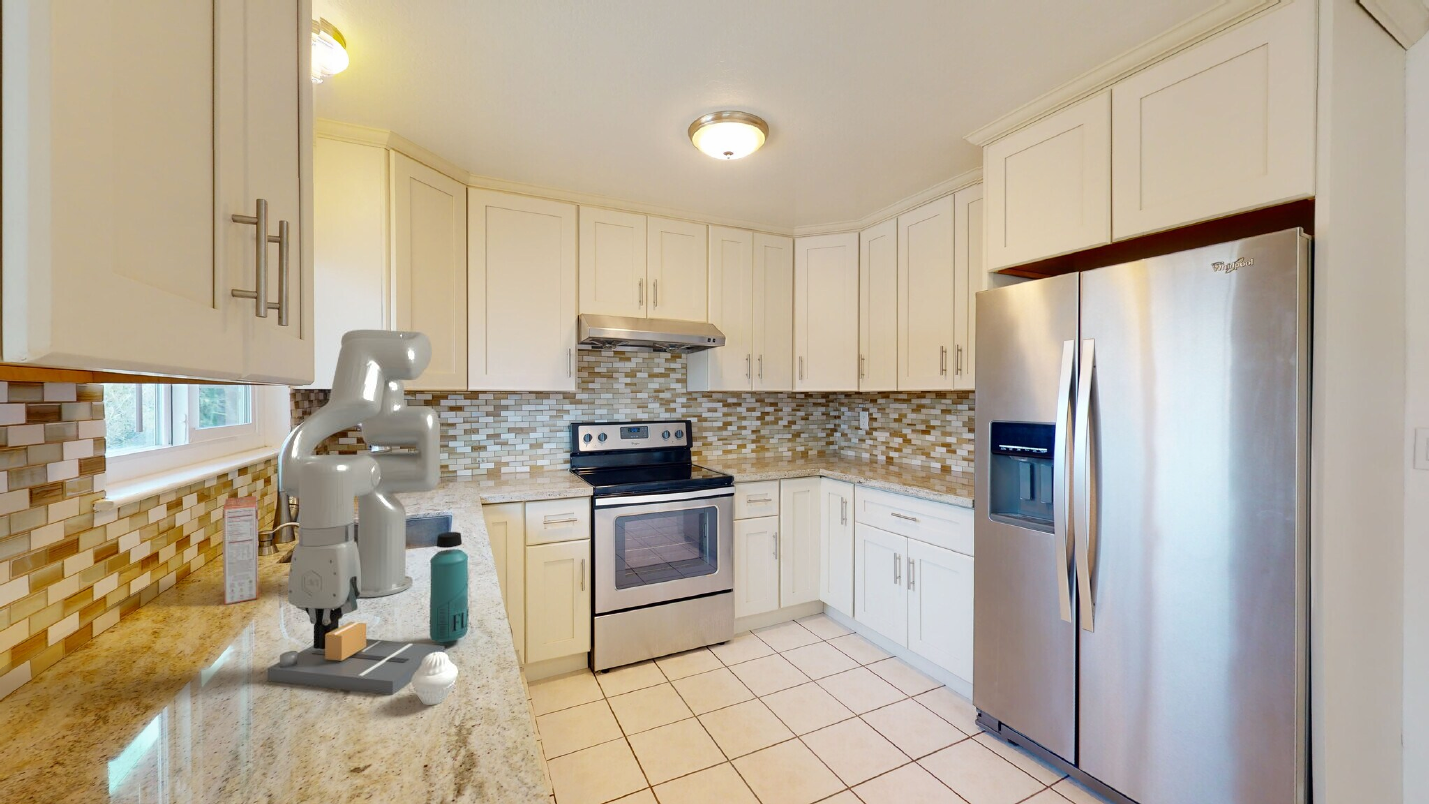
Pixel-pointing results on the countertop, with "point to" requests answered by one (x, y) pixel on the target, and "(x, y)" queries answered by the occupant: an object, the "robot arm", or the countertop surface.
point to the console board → (355, 667)
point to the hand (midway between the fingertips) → (326, 645)
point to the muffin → (434, 678)
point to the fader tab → (345, 641)
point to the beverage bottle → (449, 590)
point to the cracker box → (240, 549)
